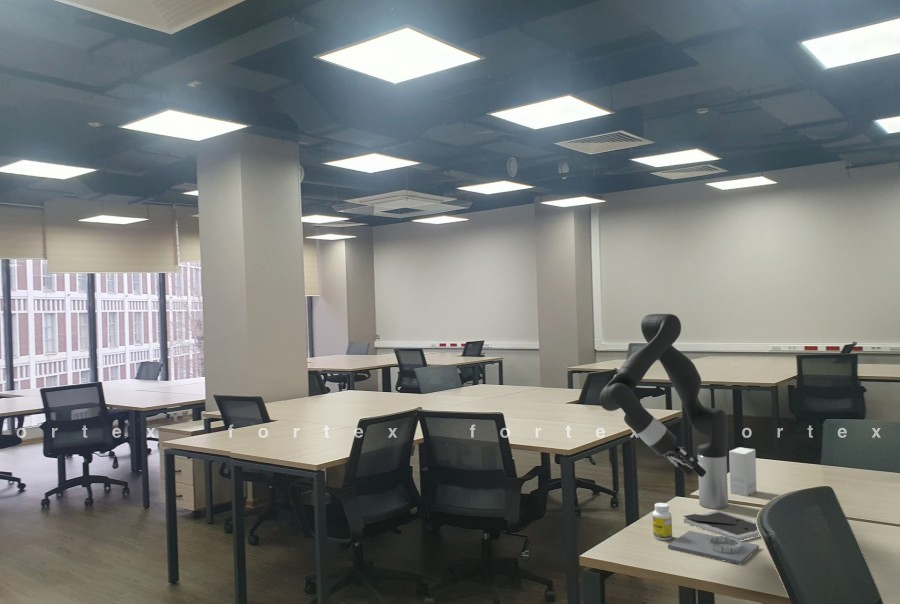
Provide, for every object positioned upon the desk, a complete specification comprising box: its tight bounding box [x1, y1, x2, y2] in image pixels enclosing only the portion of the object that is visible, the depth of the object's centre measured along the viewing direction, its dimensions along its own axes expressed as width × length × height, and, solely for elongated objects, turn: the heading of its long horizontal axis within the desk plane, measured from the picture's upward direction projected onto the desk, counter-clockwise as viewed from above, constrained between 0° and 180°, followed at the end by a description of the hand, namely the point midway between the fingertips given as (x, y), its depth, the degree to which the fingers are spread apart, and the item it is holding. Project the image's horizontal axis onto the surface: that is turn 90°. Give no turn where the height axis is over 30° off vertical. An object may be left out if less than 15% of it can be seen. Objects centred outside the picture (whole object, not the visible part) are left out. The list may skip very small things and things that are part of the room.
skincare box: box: [728, 446, 757, 497], centre depth 240 cm, size 8×7×16 cm
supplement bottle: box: [652, 502, 673, 541], centre depth 197 cm, size 5×5×10 cm
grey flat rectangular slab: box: [667, 530, 760, 565], centre depth 187 cm, size 15×20×1 cm
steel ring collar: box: [706, 535, 742, 553], centre depth 185 cm, size 9×9×2 cm
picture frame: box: [683, 509, 760, 541], centre depth 204 cm, size 16×3×21 cm
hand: (696, 473), depth 195 cm, fingers open, 8 cm apart
